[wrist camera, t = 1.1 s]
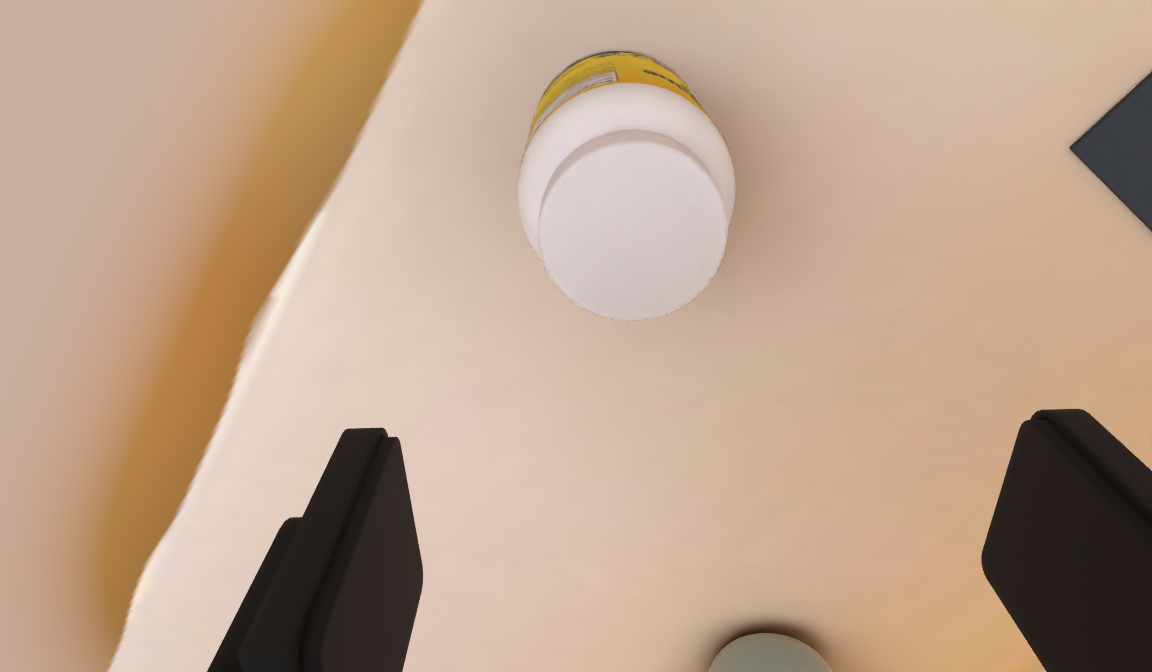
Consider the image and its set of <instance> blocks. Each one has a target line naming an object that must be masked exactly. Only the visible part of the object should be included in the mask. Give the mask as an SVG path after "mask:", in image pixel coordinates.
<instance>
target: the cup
mask: <svg viewBox="0 0 1152 672" xmlns="http://www.w3.org/2000/svg"><path fill="white" fill-rule="evenodd" d="M708 672H833V671H832V669H831V668H830V666H829V665H828V664H827V662H826V661H825V660H824V659H823V658H822V657H821V656H820V654H819V653H818V652H816V651H815V650H814V649H813V648H812V647H810V646H809V645H807V644H806V643H804V642H802V641H800V640H798V639H795V638H793V637H790V636H786V635H782V634H775V633H756V634H749V635H746V636H742V637H740V638H738V639H736V640H734V641H732V642H730V643H729V644H728V645H726V646H725V647H724V648H723V649H722V650H721V651H720V652H719V653H718V654H717V656H716V657H715V658H714V660H713V661H712V663H711V665H710V667H709V670H708Z"/></svg>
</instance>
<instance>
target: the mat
mask: <svg viewBox="0 0 1152 672" xmlns="http://www.w3.org/2000/svg"><path fill="white" fill-rule="evenodd" d="M1070 149H1071V150H1072V151H1073V152H1074V153H1075V154H1076V155H1077V156H1078V157H1079V158H1080V159H1081V160H1082V161H1083V162H1084V163H1085V164H1086V165H1087V166H1088V167H1089V168H1090V169H1091V170H1092V171H1093V172H1094V173H1095V174H1096V175H1097V176H1098V177H1099V178H1100V179H1101V180H1102V181H1103V182H1104V183H1105V184H1106V185H1107V186H1108V187H1109V188H1110V189H1111V190H1112V191H1113V192H1114V193H1115V194H1116V195H1117V196H1118V197H1119V198H1120V199H1121V200H1122V201H1123V202H1124V203H1125V204H1126V205H1127V206H1128V207H1129V208H1130V209H1131V210H1132V211H1133V212H1134V213H1135V214H1136V215H1137V216H1138V217H1139V218H1140V219H1141V220H1142V221H1143V222H1144V223H1145V224H1146V225H1147V226H1148V228H1149V229H1150V230H1151V231H1152V73H1151V74H1150V75H1148V76H1147V77H1146V78H1145V79H1144V80H1143V81H1142V82H1141V83H1140V84H1139V85H1138V86H1137V87H1135V88H1134V89H1133V90H1132V91H1131V92H1130V93H1129V94H1128V95H1127V96H1126V97H1125V98H1123V99H1122V100H1121V101H1120V102H1119V103H1118V104H1117V105H1116V106H1115V107H1114V108H1113V109H1112V110H1110V111H1109V112H1108V113H1107V114H1106V115H1105V116H1104V117H1103V118H1102V119H1101V120H1100V121H1099V122H1097V123H1096V124H1095V125H1094V126H1093V127H1092V128H1091V129H1090V130H1089V131H1088V132H1087V133H1085V134H1084V135H1083V136H1082V137H1081V138H1080V139H1079V140H1078V141H1077V142H1076V143H1075V144H1074V145H1072V146H1071V147H1070Z"/></svg>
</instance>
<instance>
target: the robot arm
mask: <svg viewBox="0 0 1152 672" xmlns="http://www.w3.org/2000/svg"><path fill="white" fill-rule="evenodd" d="M981 558H982V567H983V571H984V574H985V576H986V578H987V580H988V581H989V583H990V584H991V586H992V588H993V589H994V591H995V592H996V594H997V595H998V597H999V598H1000V600H1001V602H1002V603H1003V605H1004V606H1005V608H1006V609H1007V611H1008V612H1009V614H1010V616H1011V617H1012V619H1013V620H1014V622H1015V623H1016V625H1017V626H1018V628H1019V630H1020V631H1021V633H1022V634H1023V636H1024V637H1025V639H1026V640H1027V642H1028V643H1029V645H1030V647H1031V648H1032V650H1033V651H1034V653H1035V654H1036V656H1037V657H1038V659H1039V661H1040V662H1041V664H1042V665H1043V667H1044V668H1045V670H1046V671H1047V672H1152V471H1151V470H1150V469H1149V468H1148V467H1147V466H1146V465H1145V464H1144V463H1142V462H1141V461H1140V460H1139V459H1138V458H1137V457H1136V456H1135V455H1134V454H1133V453H1132V452H1130V451H1129V450H1128V449H1127V448H1126V447H1125V446H1124V445H1123V444H1122V443H1121V442H1120V441H1118V440H1117V439H1116V438H1115V437H1114V436H1113V435H1112V434H1111V433H1110V432H1109V431H1108V430H1107V429H1105V428H1104V427H1103V426H1102V425H1101V424H1100V423H1099V422H1098V421H1097V420H1096V419H1095V418H1093V417H1092V416H1091V415H1090V414H1089V413H1087V412H1086V411H1084V410H1081V409H1056V410H1040V411H1037V412H1036V413H1035V414H1034V415H1033V416H1032V417H1031V420H1027V421H1024V422H1023V423H1022V425H1021V427H1020V429H1019V432H1018V436H1017V439H1016V442H1015V445H1014V449H1013V452H1012V455H1011V459H1010V462H1009V465H1008V468H1007V472H1006V475H1005V478H1004V482H1003V485H1002V488H1001V491H1000V495H999V498H998V501H997V505H996V508H995V511H994V515H993V518H992V521H991V524H990V528H989V531H988V534H987V538H986V541H985V544H984V547H983V551H982V556H981ZM422 584H423V567H422V561H421V555H420V550H419V544H418V539H417V533H416V528H415V522H414V516H413V511H412V505H411V500H410V494H409V489H408V483H407V478H406V472H405V466H404V461H403V455H402V450H401V445H400V441H399V439H398V438H397V437H388V435H387V432H386V430H385V429H384V428H357V429H346V430H345V431H344V432H343V433H342V435H341V437H340V439H339V442H338V444H337V446H336V448H335V450H334V452H333V454H332V456H331V458H330V460H329V462H328V465H327V467H326V469H325V471H324V473H323V475H322V477H321V479H320V481H319V483H318V485H317V487H316V490H315V492H314V494H313V496H312V498H311V500H310V502H309V504H308V506H307V508H306V510H305V513H304V515H303V517H293V518H289V519H288V520H286V521H285V522H284V523H283V525H282V526H281V528H280V529H279V531H278V533H277V535H276V537H275V539H274V541H273V543H272V545H271V547H270V549H269V551H268V553H267V555H266V557H265V559H264V561H263V563H262V565H261V567H260V569H259V570H258V572H257V574H256V576H255V578H254V580H253V582H252V584H251V586H250V588H249V590H248V592H247V594H246V596H245V598H244V600H243V602H242V604H241V606H240V608H239V610H238V612H237V614H236V616H235V618H234V620H233V622H232V624H231V626H230V628H229V630H228V631H227V633H226V635H225V637H224V639H223V641H222V643H221V645H220V647H219V649H218V651H217V653H216V655H215V657H214V659H213V661H212V663H211V665H210V667H209V669H208V671H207V672H402V670H403V666H404V662H405V658H406V654H407V649H408V645H409V641H410V637H411V633H412V629H413V625H414V620H415V616H416V612H417V608H418V604H419V600H420V595H421V591H422Z"/></svg>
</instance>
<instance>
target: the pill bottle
mask: <svg viewBox="0 0 1152 672" xmlns="http://www.w3.org/2000/svg"><path fill="white" fill-rule="evenodd" d="M735 193H736V190H735V175H734V169H733V164H732V160H731V157H730V153H729V151H728V147H727V145H726V143H725V140H724V138H723V136H722V135H721V134H720V132H719V130H718V129H717V127H716V126H715V125H714V123H713V122H712V121H711V119H710V118H709V117H708V115H707V114H706V113H705V111H704V110H703V108H702V107H701V105H700V104H699V103H698V102H697V100H696V99H695V98H694V96H693V95H692V94H691V92H690V91H689V89H688V88H687V87H686V85H685V84H684V83H683V82H682V80H681V79H680V78H679V77H678V76H677V75H676V74H675V73H674V72H673V71H672V70H671V69H670V68H668V67H667V66H666V65H664V64H663V63H661V62H660V61H658V60H656V59H654V58H652V57H650V56H648V55H645V54H642V53H638V52H634V51H628V50H608V51H602V52H598V53H594V54H591V55H588V56H585V57H583V58H581V59H579V60H577V61H575V62H574V63H572V64H570V65H569V66H568V67H566V68H565V69H564V70H563V71H561V72H560V73H559V74H558V75H557V76H556V77H555V78H554V80H553V81H552V82H551V83H550V85H549V86H548V87H547V89H546V90H545V92H544V94H543V96H542V98H541V100H540V102H539V104H538V106H537V109H536V111H535V115H534V118H533V121H532V124H531V129H530V133H529V136H528V140H527V143H526V147H525V151H524V154H523V158H522V161H521V165H520V170H519V175H518V184H517V204H518V212H519V217H520V221H521V224H522V228H523V230H524V233H525V235H526V238H527V240H528V242H529V244H530V246H531V248H532V249H533V251H534V252H535V254H536V255H537V257H538V258H539V259H540V261H541V262H542V263H543V264H544V266H545V269H546V271H547V273H548V274H549V276H550V278H551V279H552V281H553V282H554V284H555V285H556V286H557V288H558V289H559V290H560V291H561V292H562V293H563V294H564V295H565V296H566V297H567V298H568V299H569V300H571V301H572V302H573V303H575V304H576V305H577V306H579V307H581V308H582V309H584V310H586V311H588V312H590V313H592V314H595V315H598V316H601V317H604V318H608V319H612V320H619V321H642V320H648V319H653V318H657V317H660V316H663V315H666V314H669V313H671V312H673V311H675V310H677V309H679V308H681V307H682V306H684V305H686V304H687V303H689V302H690V301H691V300H693V299H694V298H695V297H696V296H697V295H699V294H700V292H701V291H702V290H703V289H704V288H705V287H706V286H707V285H708V283H709V282H710V281H711V279H712V278H713V276H714V275H715V273H716V272H717V270H718V268H719V265H720V263H721V261H722V258H723V255H724V252H725V248H726V243H727V235H728V227H729V224H730V222H731V218H732V214H733V209H734V204H735Z"/></svg>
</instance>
